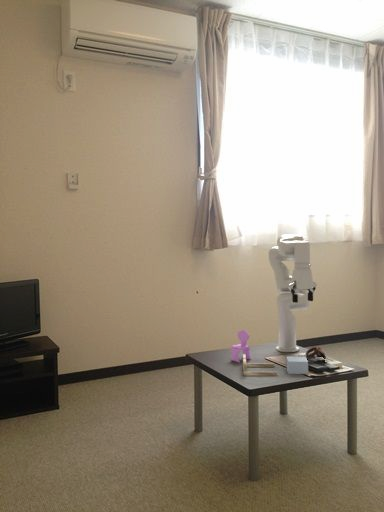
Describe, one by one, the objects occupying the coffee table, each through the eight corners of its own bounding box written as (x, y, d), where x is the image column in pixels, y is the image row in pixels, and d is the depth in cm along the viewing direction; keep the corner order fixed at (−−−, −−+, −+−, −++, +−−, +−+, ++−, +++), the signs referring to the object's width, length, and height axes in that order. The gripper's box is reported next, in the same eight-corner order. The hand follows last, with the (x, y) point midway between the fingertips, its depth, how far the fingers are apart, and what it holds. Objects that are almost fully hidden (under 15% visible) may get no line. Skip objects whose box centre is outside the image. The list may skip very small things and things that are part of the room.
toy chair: (229, 359, 246) (228, 331, 245) (241, 356, 251) (241, 328, 250) (240, 363, 239) (239, 333, 238) (252, 360, 244) (252, 331, 244)
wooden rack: (243, 365, 234) (242, 353, 234) (274, 366, 233) (274, 353, 232) (243, 375, 218) (243, 362, 218) (277, 375, 217) (277, 363, 217)
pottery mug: (326, 365, 234) (318, 351, 233) (310, 371, 238) (301, 358, 238) (330, 353, 244) (322, 340, 243) (313, 359, 249) (305, 346, 248)
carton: (286, 368, 229) (286, 356, 229) (305, 368, 228) (305, 356, 228) (288, 374, 220) (288, 361, 220) (308, 374, 219) (308, 361, 219)
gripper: (310, 265, 239) (310, 299, 239) (283, 267, 230) (284, 302, 231) (321, 266, 232) (321, 301, 232) (293, 267, 224) (294, 303, 224)
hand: (302, 301), depth 231 cm, fingers open, 9 cm apart
